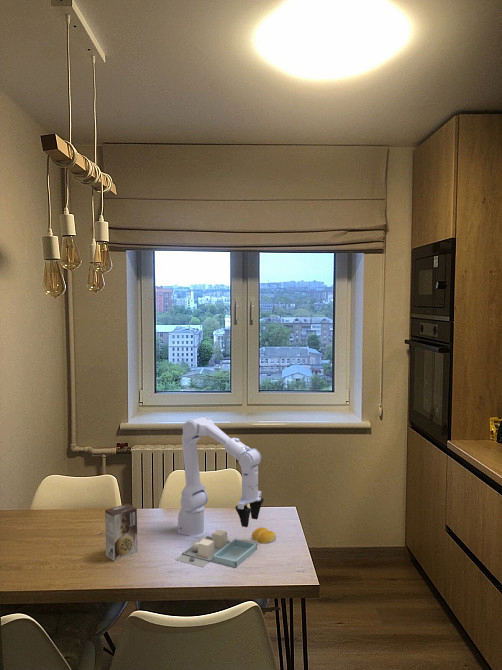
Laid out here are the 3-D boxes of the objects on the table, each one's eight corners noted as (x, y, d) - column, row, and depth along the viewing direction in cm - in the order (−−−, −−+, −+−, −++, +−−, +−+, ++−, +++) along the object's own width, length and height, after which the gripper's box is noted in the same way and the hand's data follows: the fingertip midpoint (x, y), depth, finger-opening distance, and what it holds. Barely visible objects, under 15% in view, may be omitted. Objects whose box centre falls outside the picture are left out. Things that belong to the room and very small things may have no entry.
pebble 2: (196, 547, 184) (196, 538, 184) (201, 543, 187) (201, 535, 186) (204, 549, 182) (204, 540, 182) (209, 545, 185) (209, 536, 185)
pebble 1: (190, 551, 180) (190, 542, 180) (195, 548, 183) (195, 539, 183) (197, 553, 179) (197, 544, 179) (203, 550, 182) (203, 541, 181)
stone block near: (197, 556, 177) (197, 543, 177) (204, 551, 181) (204, 538, 180) (207, 558, 175) (207, 545, 175) (214, 553, 179) (214, 541, 179)
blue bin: (212, 563, 173) (212, 555, 173) (234, 545, 186) (234, 538, 186) (235, 569, 169) (235, 561, 169) (256, 550, 182) (256, 543, 182)
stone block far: (211, 545, 185) (211, 533, 185) (217, 541, 189) (217, 529, 188) (221, 548, 183) (221, 535, 183) (227, 543, 187) (227, 531, 186)
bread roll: (264, 547, 185) (264, 536, 185) (248, 539, 192) (248, 528, 192) (281, 540, 191) (281, 530, 191) (264, 533, 198) (264, 522, 197)
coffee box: (128, 547, 185) (127, 502, 184) (138, 553, 180) (137, 507, 179) (104, 555, 178) (104, 509, 178) (114, 562, 174) (114, 514, 173)
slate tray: (174, 561, 175) (174, 556, 174) (206, 538, 192) (206, 534, 192) (203, 568, 169) (203, 564, 169) (234, 544, 187) (234, 540, 187)
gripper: (250, 492, 174) (250, 532, 175) (269, 480, 187) (268, 517, 187) (232, 489, 177) (232, 528, 178) (251, 477, 190) (251, 514, 191)
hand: (249, 522), depth 183 cm, fingers open, 7 cm apart
